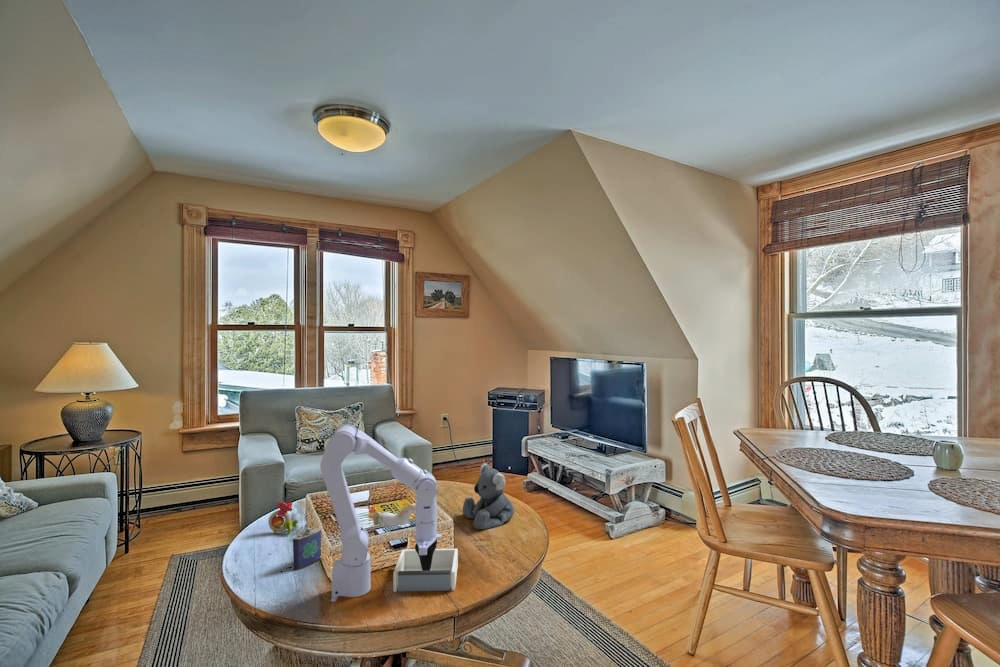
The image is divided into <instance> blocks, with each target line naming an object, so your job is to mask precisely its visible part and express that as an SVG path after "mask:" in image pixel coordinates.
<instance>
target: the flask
mask: <svg viewBox="0 0 1000 667" xmlns="http://www.w3.org/2000/svg"><path fill="white" fill-rule="evenodd" d="M321 538H322V528H318V527H316V528H314V529H313V528H310V527H309V526H307V527H306V530H305V531H304V532H303V533H301V534H297V535H296V536H294V537H293V539H292V551H293V553H292V554H293V570H295V571H299V570H300V571H301V570H303V569H305V568H306V567H307V568H308V567H309V566H311V565H312V564H315V563H317V562H318V561H320V560H321V559H320V556H321V549H320V548H321Z"/></svg>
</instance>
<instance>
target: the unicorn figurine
mask: <svg viewBox="0 0 1000 667" xmlns="http://www.w3.org/2000/svg"><path fill="white" fill-rule="evenodd" d="M412 514H414V515H415V517H416V502H413V503H410V504H408V505H406V506H404V507H403V508H402V509H401V510H399V512H398V513H396V514H395V513H392V512H390V511H384V512H380V511H379V510H377V511H375V513H373V516H372V520H373V525H378V524H379V526H385V525H404V524H408V523H409V524H410V517H411V515H412ZM409 524H408V525H409Z"/></svg>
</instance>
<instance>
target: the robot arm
mask: <svg viewBox="0 0 1000 667" xmlns="http://www.w3.org/2000/svg"><path fill="white" fill-rule="evenodd" d="M325 444H326V445H325V449H324V452H323V454H322V456H321V457H322V458H321V461H320V463H319V467H320V468H319V469H320V471H321V474H322V477H323V481H324V483H325V486H326V489H327V493H328V495H329V499H330V502H331V505H332V508H333V512H334V515H335V518H336V521H337V524H338V526H339V530H340V542H341V545H342V552H341V558H340V559H336V560H335V561H334V563H333V566H332V570H331V599H330V602H332V603H335V602H336V601H337V600H338V598H339V597H347V598H357V597H361V596H363V595H366V594H367V593H369V591H371V587H372V586H371V585H372V584H371V554H370V553H369V552H368V547H369V543H370V539H371V538H370V534H369V532H368V531H367V530H366V529H365V528H364V527H363V524H362V521H361V520H360V519H359V517H358V514H357V511H356V508H355V504H354V501H353V498H352V496H351V492H350V489H349V485H348V482H347V479H346V477H345V473H344V471H343V467H342V464H343V462H344V460H345V459H346V457H348V456H349V455H350V454H351V453H352V452H353V451H354V454H353V455H368V456H369V457H370V458H372V459H374V460H375V461H378V462H379V463H380V464H382V465H384V466H385V467H387V468H388V469H390V473H391V476H392V477H393V478H394V479H396V480H397V481H399V482H400V483H401V484H403V485H404V486H405V487H407V488H409V489H410V490H414V491H415V495H416V501H415V503H416V516H415V536H414V541H415V542H416V543H415V546H414V549H415V550H416V552H417V553H418V556H419V558H420V563H421V567H422V570H423V571H429V570H430V568H431V564H432V558H433V553H434V551H435V549H437V545H438V540H441V538H442V534H441V533H438V532H437V531H438V523H437V522H438V520H437V518H438V517H437V515H438V514H437V512H438V510H437V509H438V506H437V505H438V504H437V503H438V502H437V494H438V491H439V488H438V483H437V481H436V480H437V479H436V478H435V476H434V475H433V474H432V473H431V472H430V471H427V470H426V468H425V469H422V468H421V467H419V466H418V465H416V464H415V463H414V460H413V459H412V458H406V457H400V458H399V457H397V456H395V454H393V453H392V452H390V451H389V450H388V449H386V448H385V447H384V446H382V445H381V444H380V443H378V441H376V440H375V439H373V438H372V437H371V436H369V435H368V434H367V433H365V432H364V431H362V430H360V429H357V427H355V426H354V425H352V424H343V425H340V426H338V427H337V428H336V430H335V431H334V432H333V433H332V435H331V437H330V438H329V440H328V441H327V443H325Z"/></svg>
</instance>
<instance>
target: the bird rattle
mask: <svg viewBox="0 0 1000 667" xmlns="http://www.w3.org/2000/svg"><path fill="white" fill-rule="evenodd" d="M276 506H277V507H278V510H275V511H274V512H272V513H271V514H270V515H269V517H268V526H269V529H271V531H272V533H273V534H275V535H276V534H277V533H282V532H284V531H285V530H287V535H290V534H291V532H292V528H296V527H297V523H298V524H299V520H298V519H293V520H291V515H290V513H288V512H292V511H293V507H292V506H293V501H291V502H289V501H288V502H285V501H283V502H277V503H276Z"/></svg>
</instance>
